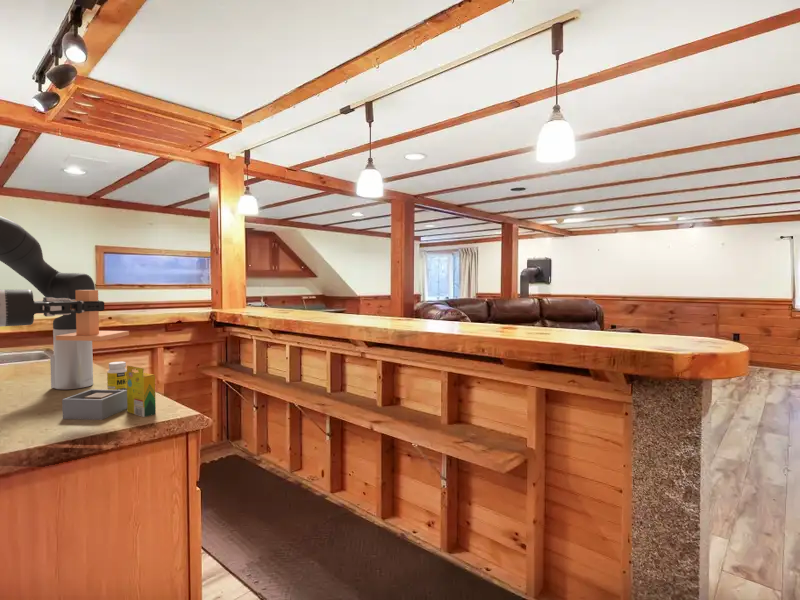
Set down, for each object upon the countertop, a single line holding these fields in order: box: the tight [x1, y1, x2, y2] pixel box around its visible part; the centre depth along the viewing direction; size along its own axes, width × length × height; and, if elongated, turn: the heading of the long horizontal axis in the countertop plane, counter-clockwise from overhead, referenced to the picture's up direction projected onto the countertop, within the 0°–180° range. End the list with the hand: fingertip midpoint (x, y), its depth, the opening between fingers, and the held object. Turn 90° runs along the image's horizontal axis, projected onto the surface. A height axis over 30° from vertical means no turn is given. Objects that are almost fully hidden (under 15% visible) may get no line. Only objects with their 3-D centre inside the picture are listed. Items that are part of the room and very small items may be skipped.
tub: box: [61, 388, 127, 421], centre depth 105 cm, size 9×9×5 cm
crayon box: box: [126, 365, 157, 418], centre depth 106 cm, size 7×3×12 cm, turn 58°
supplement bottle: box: [106, 361, 127, 390], centre depth 126 cm, size 5×5×8 cm
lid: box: [56, 289, 130, 342], centre depth 104 cm, size 10×10×11 cm
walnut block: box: [85, 393, 113, 399], centre depth 106 cm, size 4×4×4 cm
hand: (101, 305), depth 104 cm, fingers closed on lid, 4 cm apart
